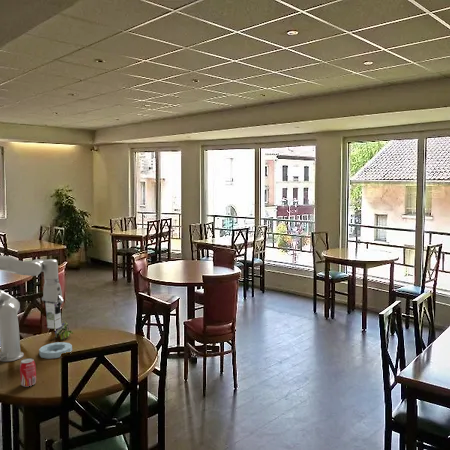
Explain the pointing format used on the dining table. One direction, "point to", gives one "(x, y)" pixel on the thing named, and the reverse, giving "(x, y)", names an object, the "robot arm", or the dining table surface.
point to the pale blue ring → (47, 349)
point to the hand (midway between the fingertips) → (53, 312)
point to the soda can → (27, 372)
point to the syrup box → (52, 316)
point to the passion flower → (62, 328)
